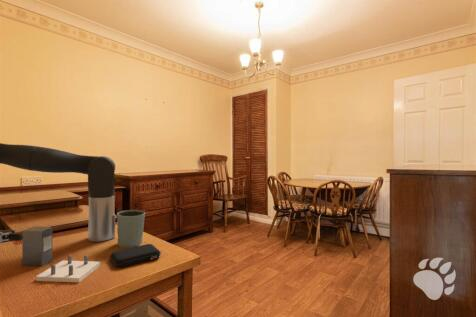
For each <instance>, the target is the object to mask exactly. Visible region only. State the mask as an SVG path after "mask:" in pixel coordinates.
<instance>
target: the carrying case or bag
mask: <svg viewBox="0 0 476 317" xmlns="http://www.w3.org/2000/svg"><path fill="white" fill-rule="evenodd" d="M160 256H161V251H160V250H159V248H157V247H156V246H155V245H154V244H152V243H146V244H142V245H141V244H140V245H138V246H135V247H129V248H123V249H119V250H115V251H113V252H111V254H110V255H109V259H110V261H111V262H112V264H113V265H114V266H115V267H116V268H118V269H119V268H120V269H121V268H126V267H129V266H133V265H136V264H140V263H145V262H148V261H154V260H156V259H158V258H159V257H160Z"/></svg>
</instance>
